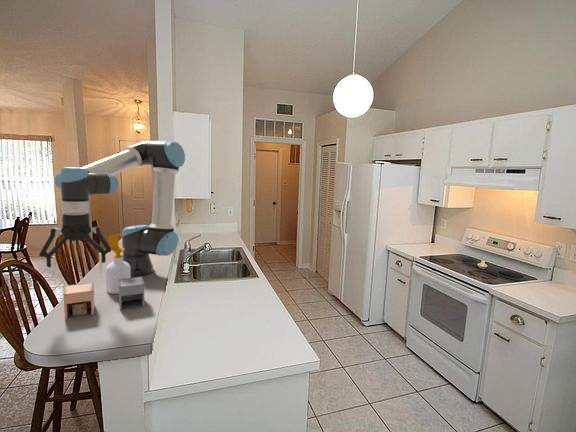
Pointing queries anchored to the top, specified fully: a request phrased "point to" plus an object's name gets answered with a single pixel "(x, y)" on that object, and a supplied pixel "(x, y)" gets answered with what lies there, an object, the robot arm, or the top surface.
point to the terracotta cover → (78, 296)
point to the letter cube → (80, 308)
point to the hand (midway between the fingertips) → (77, 273)
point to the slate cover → (131, 290)
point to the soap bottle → (116, 267)
